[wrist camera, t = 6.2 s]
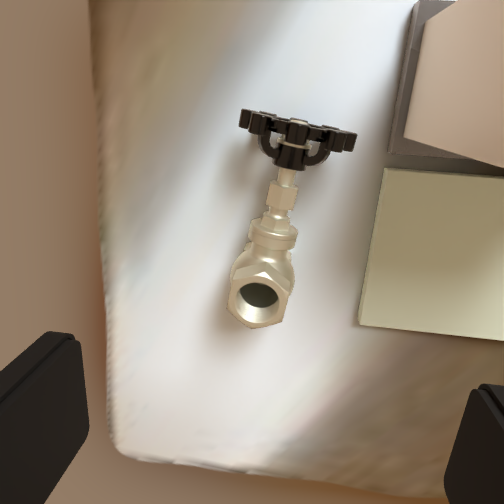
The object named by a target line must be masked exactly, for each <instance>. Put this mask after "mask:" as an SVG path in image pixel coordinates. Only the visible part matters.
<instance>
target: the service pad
mask: <svg viewBox="0 0 504 504" xmlns="http://www.w3.org/2000/svg"><path fill="white" fill-rule="evenodd" d="M357 317H358V320H359V324H360V325H366V326H375V327H384V328H393V329H402V330H411V331H420V332H429V333H439V334H448V335H457V336H466V337H475V338H484V339H493V340H502V341H504V176H491V175H478V174H465V173H451V172H438V171H425V170H412V169H399V168H386V167H384V172H383V178H382V183H381V189H380V194H379V200H378V205H377V211H376V216H375V222H374V227H373V233H372V239H371V244H370V250H369V255H368V261H367V266H366V272H365V277H364V283H363V288H362V294H361V299H360V305H359V310H358V316H357Z"/></svg>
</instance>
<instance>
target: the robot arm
mask: <svg viewBox="0 0 504 504" xmlns="http://www.w3.org/2000/svg"><path fill="white" fill-rule="evenodd" d="M88 431H89V417H88V408H87V398H86V388H85V380H84V370H83V360H82V351H81V344H80V342H79V341H77V340H75V337H74V336H73V335H72V334H69V333H61V332H52V331H49V332H46V333H44V334H43V335H42V336H41V337H40V338H38V339H37V340H36V341H35V342H34V343H33V344H32V345H31V346H29V347H28V348H27V349H26V350H25V351H24V352H22V353H21V354H20V355H19V356H18V357H17V358H15V359H14V360H13V361H12V362H11V363H10V364H8V365H7V366H6V367H5V368H4V369H3V370H2V371H0V504H44V503H45V501H46V500H47V498H48V497H49V495H50V493H51V492H52V491H53V489H54V488H55V486H56V484H57V483H58V482H59V480H60V478H61V477H62V475H63V474H64V472H65V471H66V469H67V468H68V466H69V465H70V463H71V461H72V460H73V459H74V457H75V455H76V454H77V452H78V450H79V449H80V447H81V446H82V444H83V443H84V442H85V440H86V438H87V435H88ZM444 488H445V492H446V495H447V498H448V500H449V503H450V504H504V386H501V385H492V384H481V385H480V386H479V388H478V389H473V390H472V391H471V393H470V395H469V398H468V401H467V405H466V408H465V411H464V414H463V417H462V420H461V424H460V427H459V430H458V433H457V436H456V440H455V443H454V446H453V449H452V452H451V455H450V459H449V462H448V465H447V468H446V471H445V475H444Z"/></svg>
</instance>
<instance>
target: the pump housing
mask: <svg viewBox="0 0 504 504" xmlns="http://www.w3.org/2000/svg"><path fill="white" fill-rule="evenodd" d="M387 152H389V153H391V154H402V155H416V156H430V157H444V158H457V159H471V160H479V161H482V162H485V163H488V164H492V165H495V166H498V167H501V168H504V0H457V1H443V0H419V1H418V2H417V3H415V4H414V6H413V12H412V17H411V23H410V29H409V34H408V40H407V45H406V51H405V56H404V62H403V67H402V73H401V78H400V84H399V89H398V95H397V100H396V106H395V111H394V117H393V122H392V128H391V134H390V139H389V145H388V150H387Z"/></svg>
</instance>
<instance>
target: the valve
mask: <svg viewBox="0 0 504 504" xmlns="http://www.w3.org/2000/svg"><path fill="white" fill-rule="evenodd" d="M239 127H241V128H244V129H248V128H249V129H248V132H250V133H253V134H257V135H258V144H259V147H260V149H261V151H262V152H263V153H264V154H265V155H267V156H269V157H271V158H273V161H272V163H273V164H274V165H276V166H279V167H280V169H279V173H278V177H277V180H272V181H271V182H270V186H269V191H268V195H267V200H266V205H269V211H266V212H264V214H263V218H256V219H253V220H252V221H251V224H250V228H249V233H248V237H249V239H250V240H251V242H248V243H246V246H245V248H244V252H243V253H242V254H241V255H239V256H238V258H237V259H236V260H235V262H234V264H233V266H232V269H231V273H230V285H231V289H230V294H229V299H228V304H227V309H228V310H229V312H230V313H231V314H232V315H234V316H235V317H236V318H237V319H238V320H239V321H240V322H242V323H243V324H244V325H246V326H247V327H249V328H251V329H254V328H261V327H266V326H270V325H274V324H277V323H279V322H282V319H283V316H284V312H285V309H286V305H287V301H288V298H289V296H290V295H291V293H292V290H293V287H294V282H295V275H294V270H293V267H292V264H291V252H290V251H288V250H290V249H292V248H293V247H294V246H295V242H296V238H297V234H298V231H297V229H296V228H295V227H294V226H292V225H290V224H289V223H290V217H288V216H287V213H288V210H292V211H293V208H294V204H295V200H296V196H297V192H298V186H296V185H294V184H293V183H294V179H295V175H296V171H305V170H306V166H316V165H320V164H321V163H323V162H324V161H325V160H326V159H327V158H328V156H329V155H330V152H331V151H333V152H339V153H341V152H342V151H348V152H352V151H353V149H354V145H355V142H356V139H357V134H356V133H353V132H349V131H344V130H340V129H339V128H335V127H331V126H327V125H322V126H317V125H313V124H309V123H308V121H305V120H301V119H297V118H290V119H286V118H281V117H277V115H276V114H272V113H268V112H263V111H259V112H257V111H253V110H249V109H242V110H241V115H240V120H239ZM271 131H273V132H276V133H280V134H282V136H281V137H278V138H277V143H276V147H275V148H274V147H271V146H270V143H269V141H270V135H271ZM310 140H312V141H317V142H321V143H320V146H319V150H318V153H317V154H316V155H315V156H310V155H309V154H310V150H311V146H312V145H311V144H309V141H310Z"/></svg>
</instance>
